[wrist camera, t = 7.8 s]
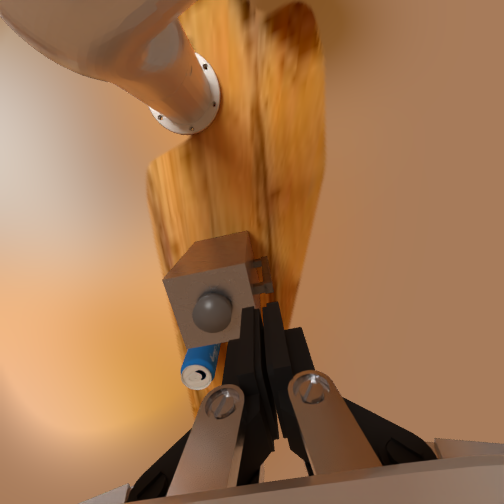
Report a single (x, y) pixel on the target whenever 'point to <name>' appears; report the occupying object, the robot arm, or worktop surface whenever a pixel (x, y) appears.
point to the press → (216, 284)
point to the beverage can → (200, 366)
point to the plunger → (212, 313)
